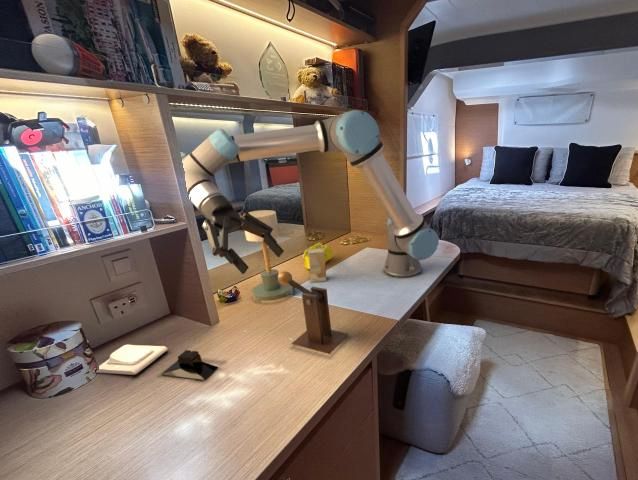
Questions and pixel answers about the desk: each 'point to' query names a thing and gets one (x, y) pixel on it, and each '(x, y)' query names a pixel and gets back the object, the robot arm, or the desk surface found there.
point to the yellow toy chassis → (318, 246)
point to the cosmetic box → (317, 265)
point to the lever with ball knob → (295, 284)
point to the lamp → (268, 262)
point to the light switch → (131, 359)
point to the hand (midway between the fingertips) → (264, 262)
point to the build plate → (190, 367)
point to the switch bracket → (318, 324)
